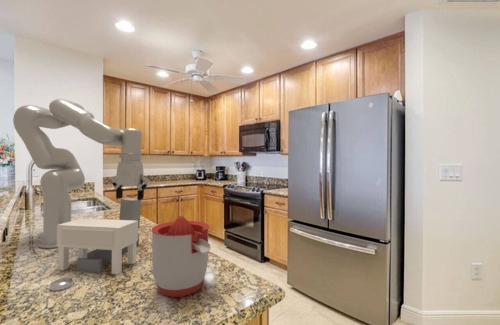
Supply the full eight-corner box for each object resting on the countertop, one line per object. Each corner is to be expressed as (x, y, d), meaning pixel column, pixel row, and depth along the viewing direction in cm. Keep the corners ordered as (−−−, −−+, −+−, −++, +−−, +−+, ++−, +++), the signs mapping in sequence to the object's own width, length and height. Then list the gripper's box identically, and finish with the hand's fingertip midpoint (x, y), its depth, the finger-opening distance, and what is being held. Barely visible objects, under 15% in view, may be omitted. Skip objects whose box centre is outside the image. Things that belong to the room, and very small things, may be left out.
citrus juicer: (183, 311, 59) (184, 226, 59) (138, 291, 68) (138, 217, 68) (224, 284, 72) (225, 215, 72) (182, 270, 82) (182, 208, 82)
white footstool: (55, 270, 81) (55, 225, 81) (81, 258, 92) (81, 218, 92) (118, 275, 78) (118, 228, 78) (137, 262, 88) (137, 220, 88)
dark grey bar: (76, 271, 81) (76, 254, 81) (127, 245, 107) (127, 232, 107) (99, 272, 80) (99, 255, 80) (144, 246, 106) (144, 233, 106)
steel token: (45, 290, 69) (45, 284, 69) (64, 281, 74) (64, 276, 74) (57, 293, 67) (57, 288, 67) (76, 284, 72) (76, 279, 72)
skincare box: (118, 229, 132) (118, 198, 132) (129, 226, 138) (129, 197, 138) (130, 231, 128) (130, 199, 128) (141, 227, 135) (141, 198, 135)
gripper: (106, 157, 104) (104, 199, 104) (145, 158, 101) (143, 201, 101) (118, 157, 111) (117, 196, 111) (155, 159, 108) (153, 199, 108)
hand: (129, 199), depth 106 cm, fingers open, 9 cm apart
